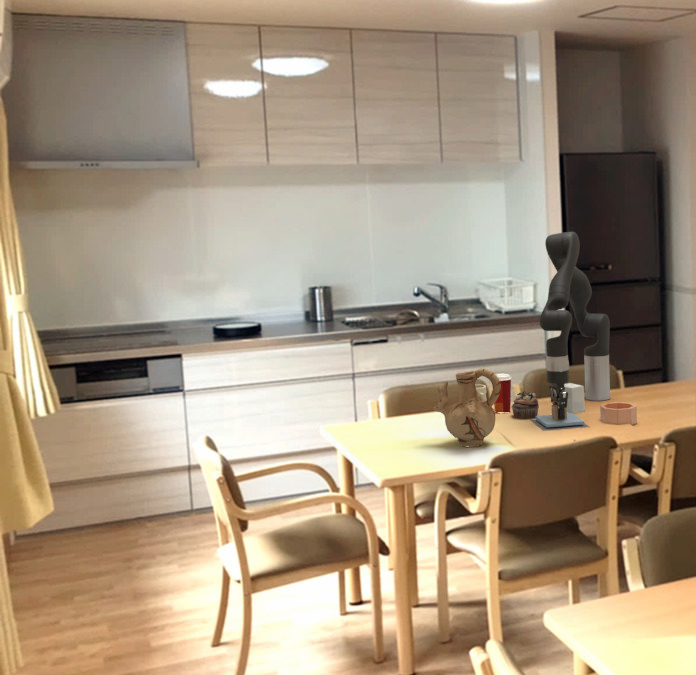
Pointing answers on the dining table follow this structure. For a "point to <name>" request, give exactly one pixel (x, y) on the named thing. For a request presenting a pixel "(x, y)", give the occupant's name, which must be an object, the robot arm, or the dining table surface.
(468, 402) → the ceramic vessel
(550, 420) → the lid
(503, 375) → the paper cup
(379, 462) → the dining table surface
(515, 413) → the cupcake
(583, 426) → the mat
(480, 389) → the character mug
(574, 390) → the small box
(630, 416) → the bowl
